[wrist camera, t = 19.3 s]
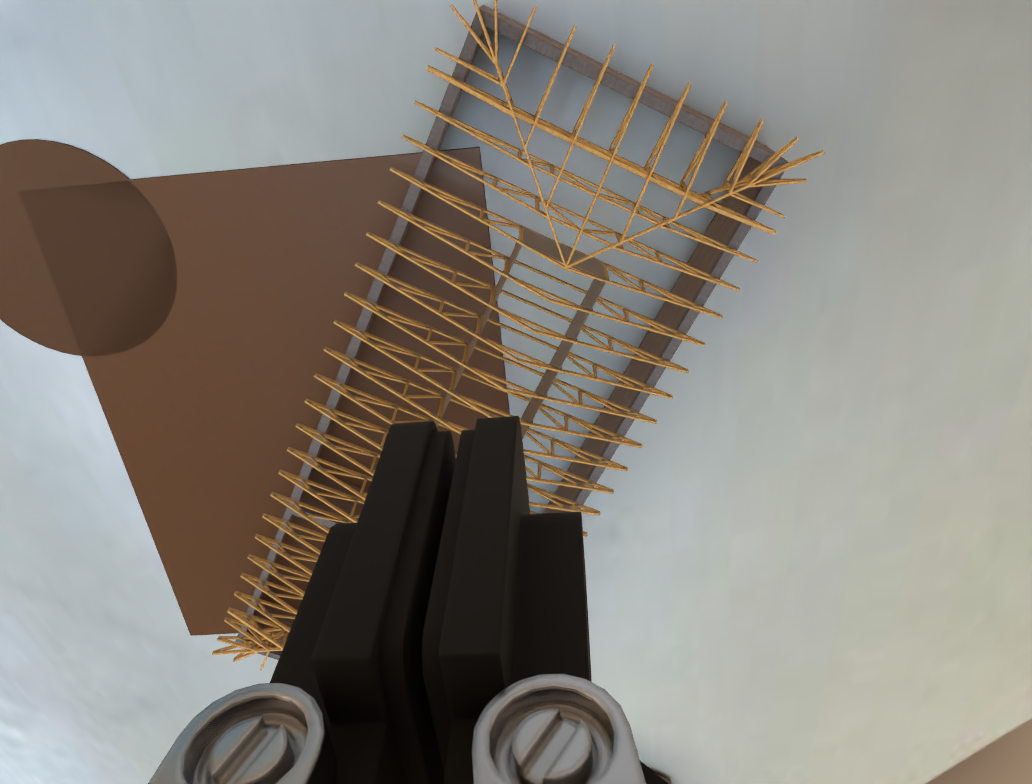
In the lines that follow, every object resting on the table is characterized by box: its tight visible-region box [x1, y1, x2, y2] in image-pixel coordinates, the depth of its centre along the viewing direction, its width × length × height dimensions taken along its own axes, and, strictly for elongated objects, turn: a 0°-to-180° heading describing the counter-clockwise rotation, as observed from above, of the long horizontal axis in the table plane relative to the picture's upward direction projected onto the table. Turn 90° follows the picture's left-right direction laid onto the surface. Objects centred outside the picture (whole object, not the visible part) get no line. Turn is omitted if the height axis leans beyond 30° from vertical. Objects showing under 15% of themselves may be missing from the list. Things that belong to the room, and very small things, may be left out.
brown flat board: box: [0, 139, 510, 635], centre depth 39 cm, size 24×28×1 cm
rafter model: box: [212, 0, 825, 670], centre depth 36 cm, size 35×14×6 cm, turn 156°
